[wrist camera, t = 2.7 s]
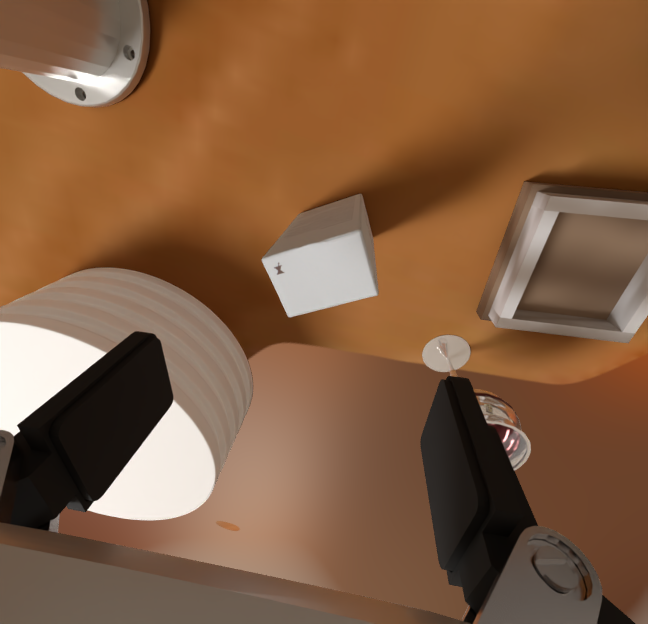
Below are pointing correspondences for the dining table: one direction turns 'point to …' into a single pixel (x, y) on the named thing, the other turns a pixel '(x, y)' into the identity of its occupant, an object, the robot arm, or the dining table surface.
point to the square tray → (572, 264)
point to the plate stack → (182, 364)
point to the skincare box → (324, 258)
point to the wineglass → (480, 396)
